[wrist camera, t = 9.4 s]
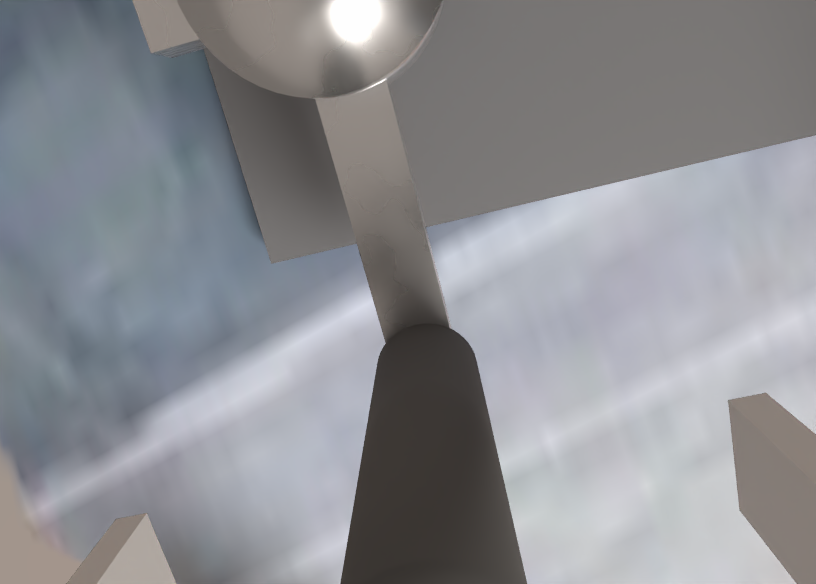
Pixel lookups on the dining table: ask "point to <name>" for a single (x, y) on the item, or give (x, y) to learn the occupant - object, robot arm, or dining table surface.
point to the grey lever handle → (379, 280)
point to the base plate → (541, 107)
